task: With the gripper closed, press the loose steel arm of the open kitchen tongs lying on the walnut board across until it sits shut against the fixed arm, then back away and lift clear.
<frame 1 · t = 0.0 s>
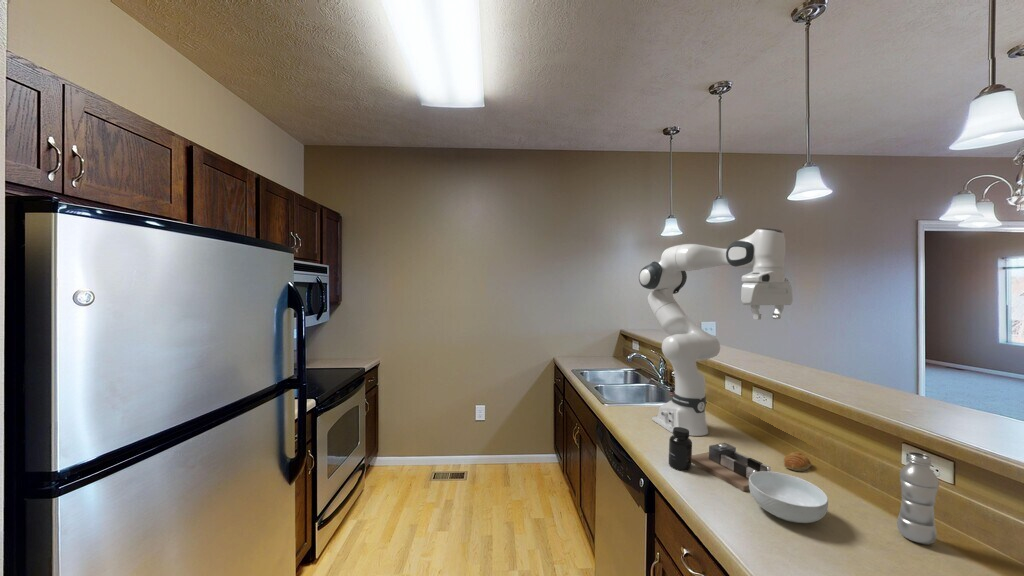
hand: (766, 319, 128), 48 cm above the counter, tool pointing down, fingers open, 8 cm apart
cereal bowl: (785, 514, 101), on the counter
fixed tong arm: (737, 477, 118), resting on walnut board
tong hinge: (721, 464, 127), resting on walnut board
walnut board: (730, 470, 123), on the counter
loose tong arm: (751, 464, 120), point 3 cm above the counter, slide at 0.0 cm
plastic bottle: (915, 540, 91), on the counter
supplement bottle: (679, 466, 125), on the counter
pastry: (797, 467, 127), on the counter
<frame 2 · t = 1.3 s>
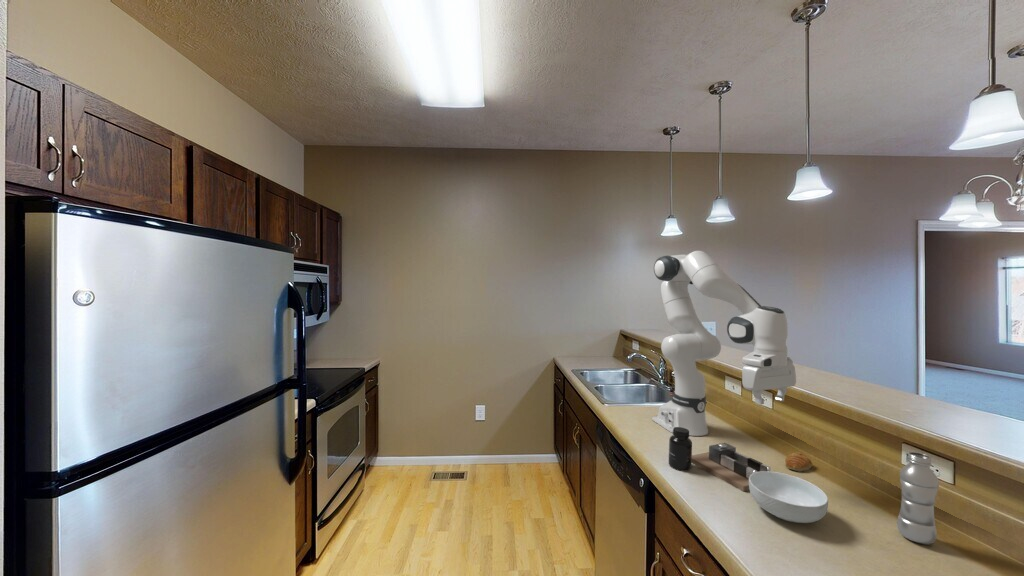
hand: (769, 402, 121), 22 cm above the counter, tool pointing down, fingers open, 8 cm apart
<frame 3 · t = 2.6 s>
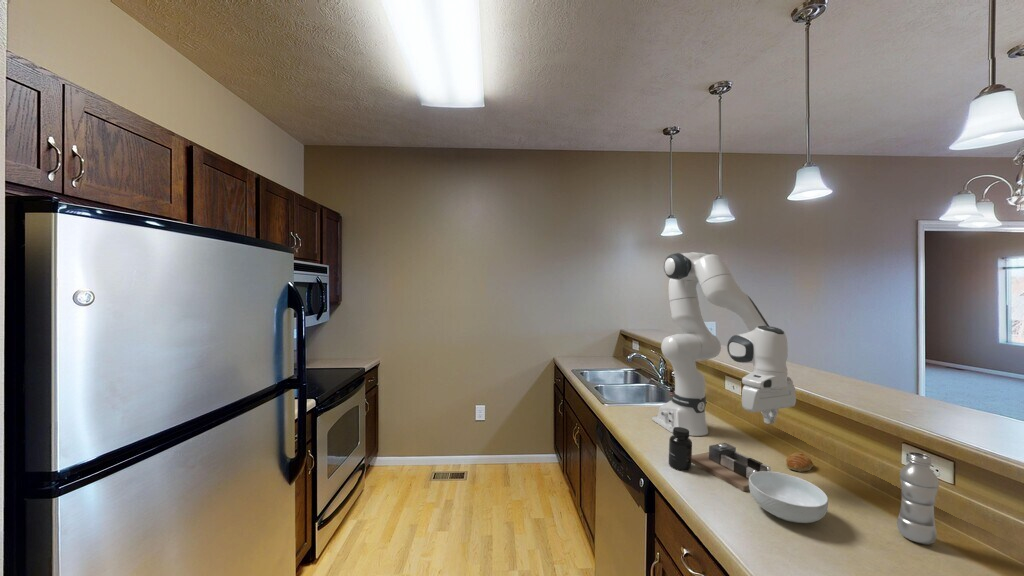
hand: (769, 422, 121), 16 cm above the counter, tool pointing down, fingers closed
nothing on the counter moved.
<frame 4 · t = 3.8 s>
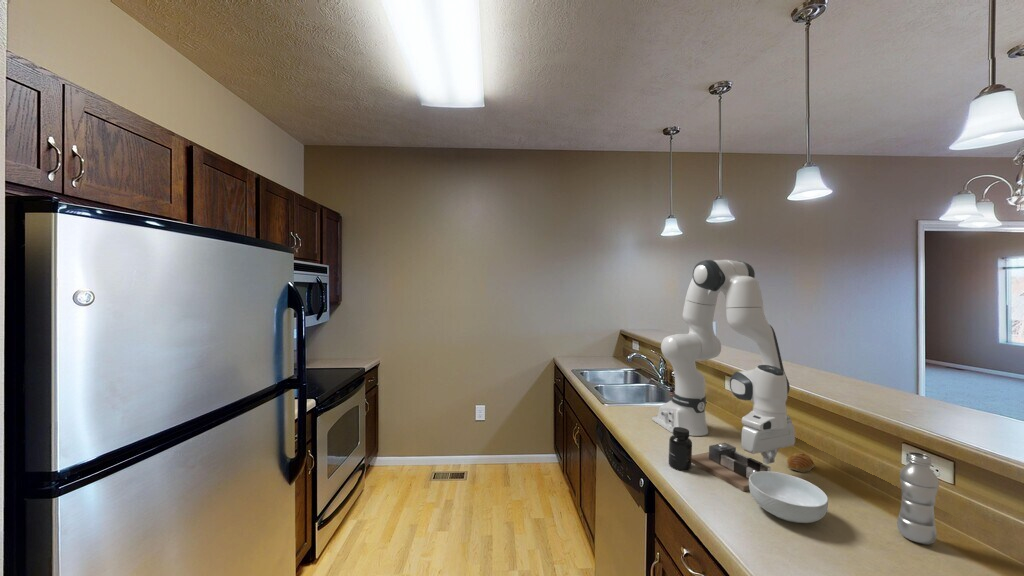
hand: (768, 462, 121), 4 cm above the counter, tool pointing down, fingers closed
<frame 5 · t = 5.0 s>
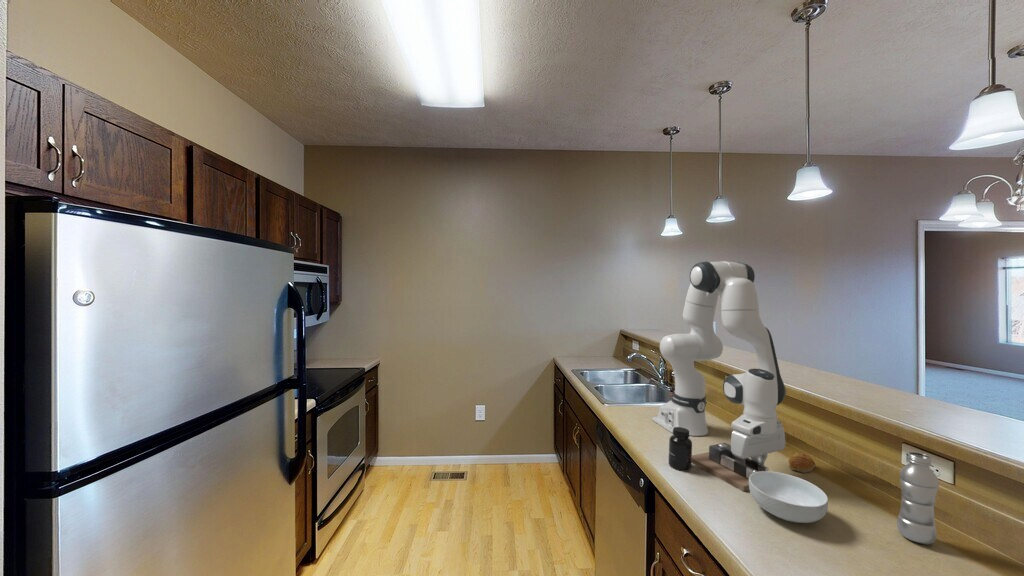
hand: (758, 467, 120), 3 cm above the counter, tool pointing down, fingers closed
loose tong arm: (749, 464, 120), point 3 cm above the counter, slide at 0.9 cm, touching gripper
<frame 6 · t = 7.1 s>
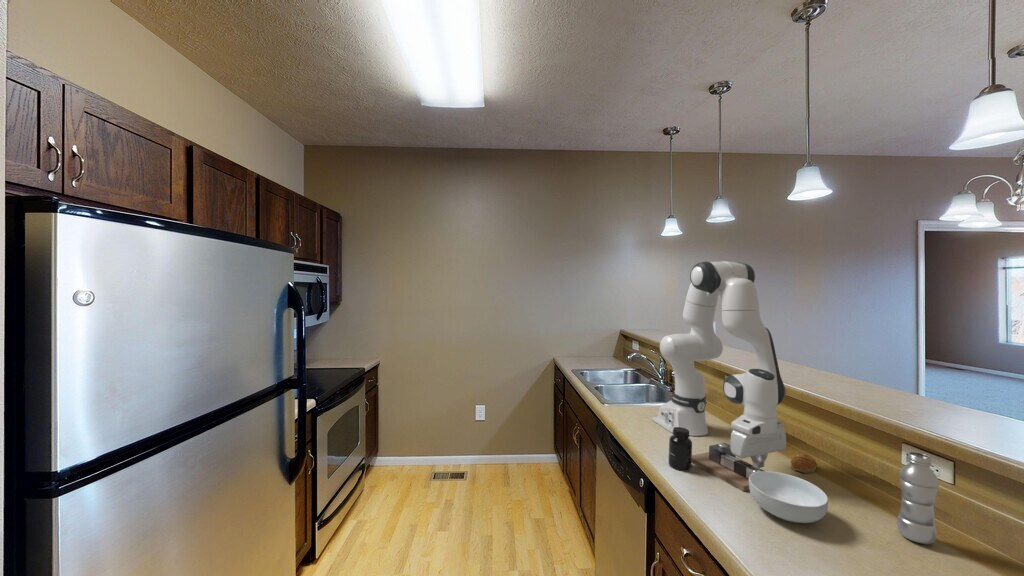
hand: (758, 467, 120), 3 cm above the counter, tool pointing down, fingers closed
loose tong arm: (741, 466, 119), point 3 cm above the counter, slide at 4.4 cm
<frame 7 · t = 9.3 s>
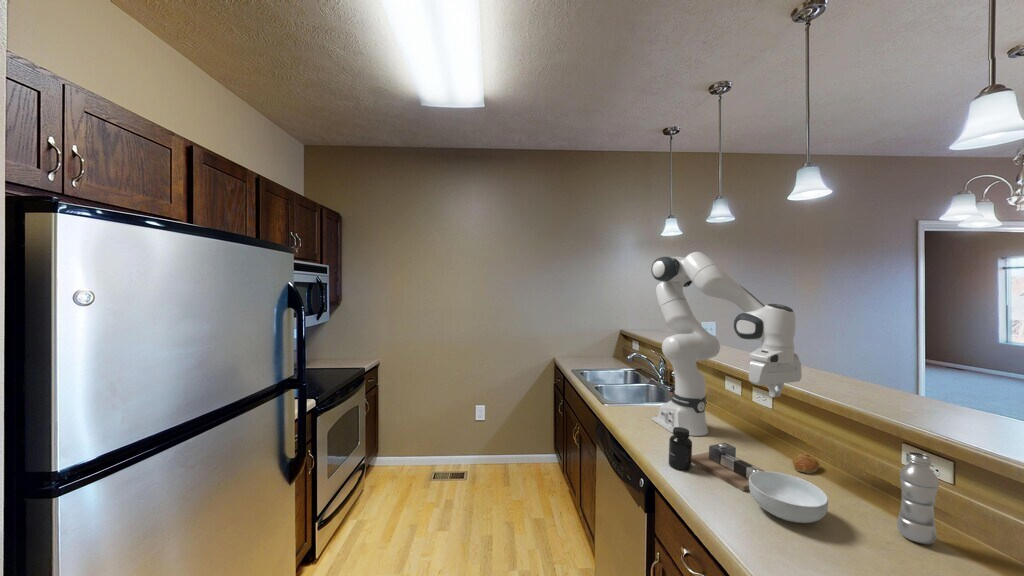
hand: (774, 396, 126), 23 cm above the counter, tool pointing down, fingers closed
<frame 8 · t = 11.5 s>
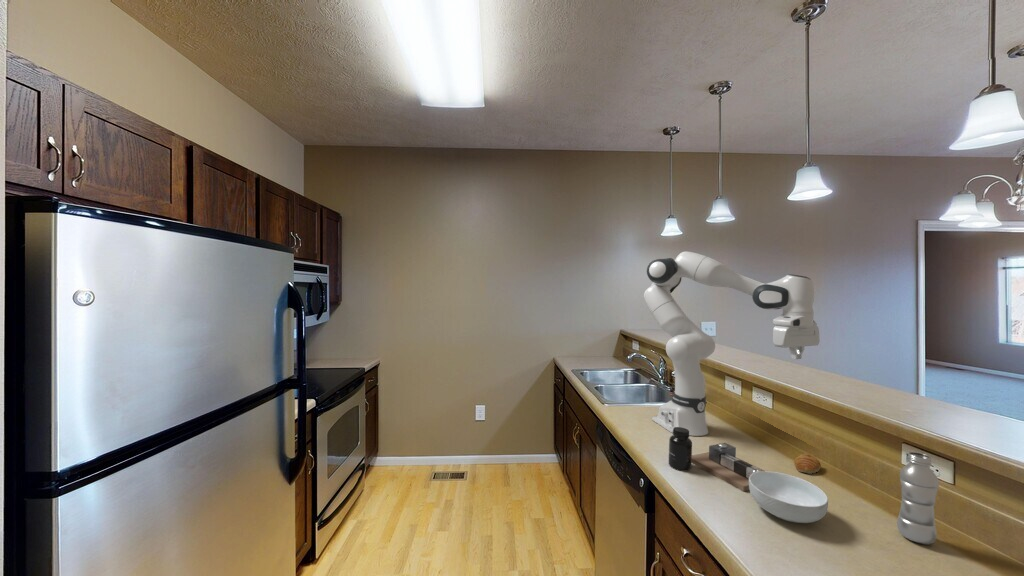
hand: (796, 358, 138), 33 cm above the counter, tool pointing down, fingers closed
at the end: loose tong arm slide at 4.4 cm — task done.
